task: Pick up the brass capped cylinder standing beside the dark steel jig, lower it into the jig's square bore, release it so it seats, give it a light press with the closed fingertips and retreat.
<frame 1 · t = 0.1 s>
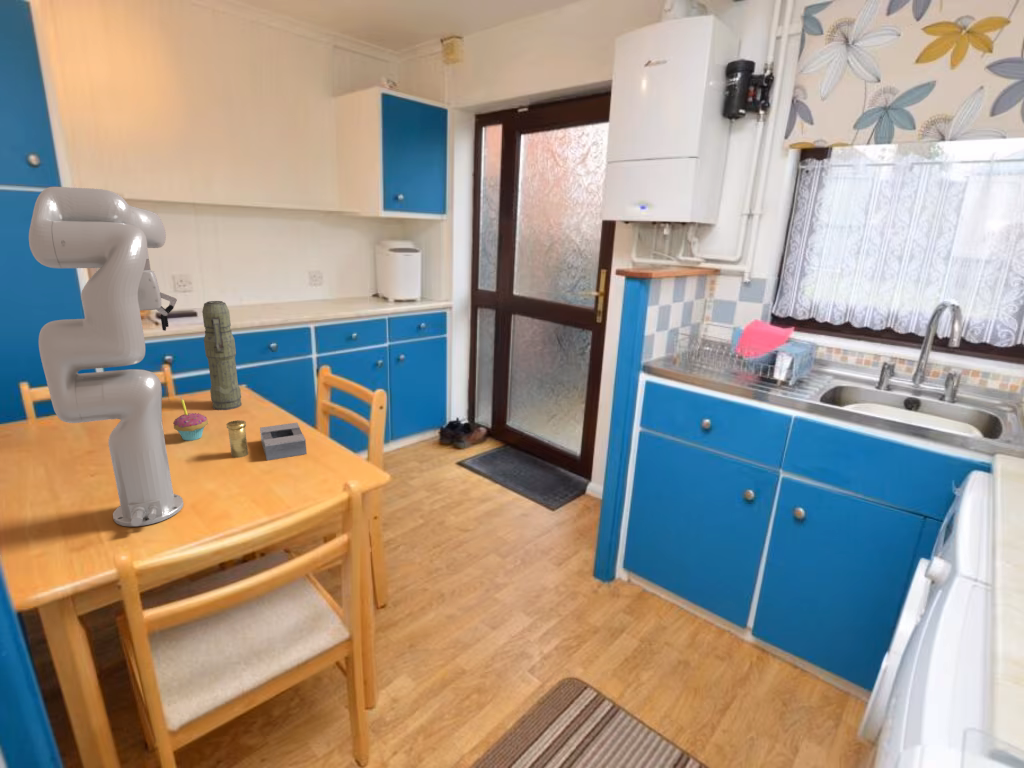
hand: (143, 330, 144), 31 cm above the table, fingers open, 9 cm apart
jig: (283, 447, 150), on the table
brass capped cylinder: (239, 454, 144), on the table
cupcake: (193, 438, 154), on the table
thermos: (227, 406, 180), on the table
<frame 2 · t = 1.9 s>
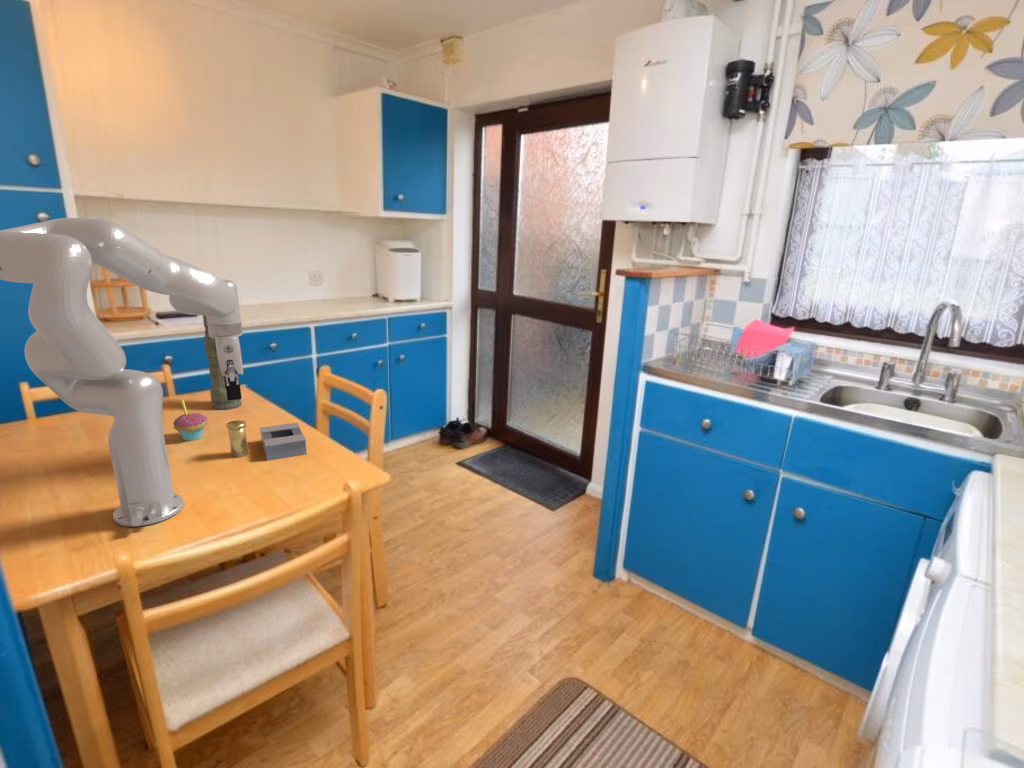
hand: (233, 393, 140), 17 cm above the table, fingers open, 9 cm apart
nothing on the table moved.
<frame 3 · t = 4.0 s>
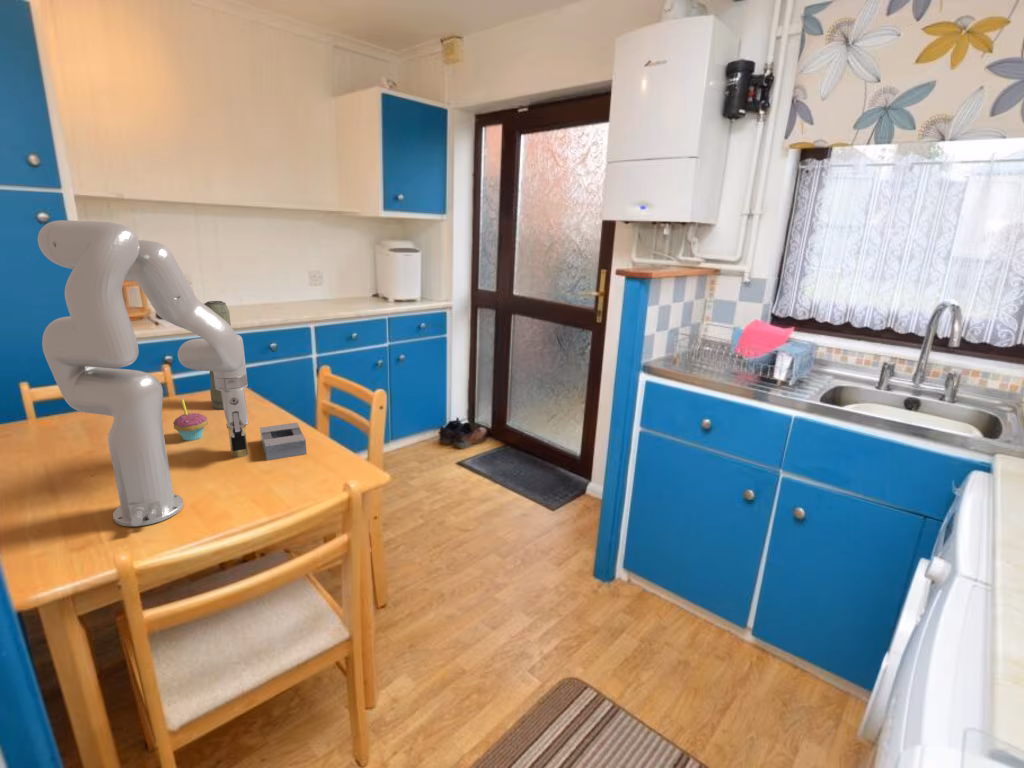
hand: (238, 445, 144), 3 cm above the table, fingers closed on brass capped cylinder, 4 cm apart
brass capped cylinder: (239, 454, 144), on the table, touching gripper
everything else where it was.
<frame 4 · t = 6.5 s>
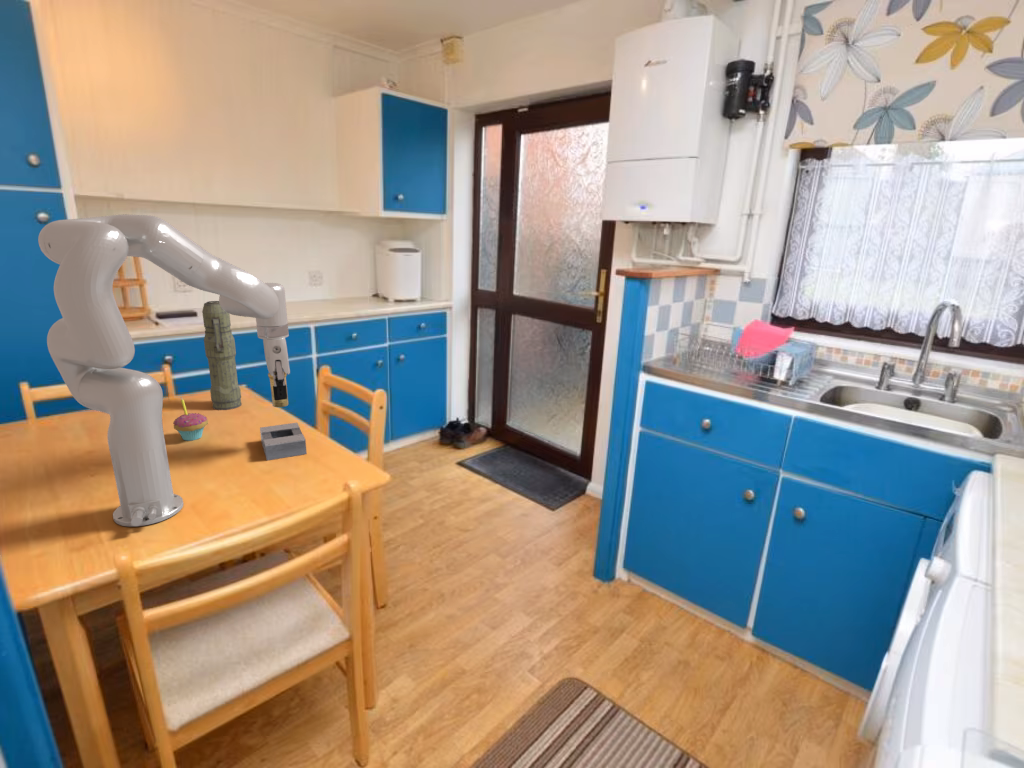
hand: (279, 396, 146), 15 cm above the table, fingers closed on brass capped cylinder, 4 cm apart
brass capped cylinder: (280, 404, 146), point 13 cm above the table, touching gripper
everything else where it was.
when the fingers open (5 cm above the table, at t = 8.6 s): brass capped cylinder drops 2 cm, resting in jig.
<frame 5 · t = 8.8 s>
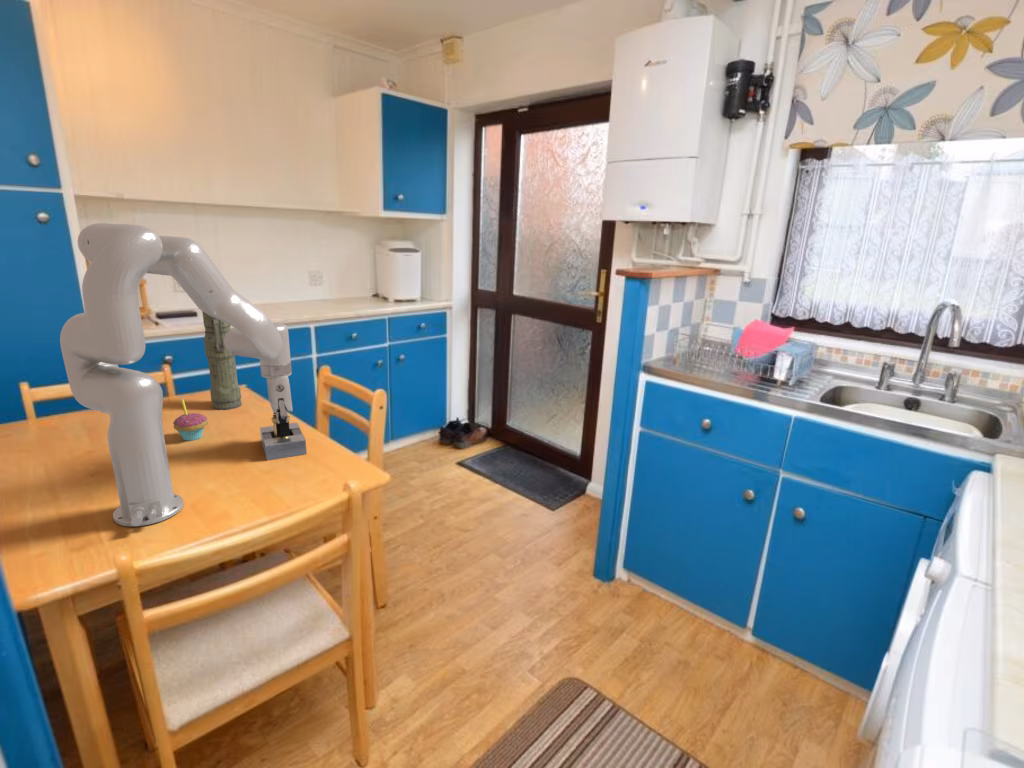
hand: (281, 431, 148), 5 cm above the table, fingers open, 6 cm apart
brass capped cylinder: (283, 447, 150), resting in jig
everything else where it was.
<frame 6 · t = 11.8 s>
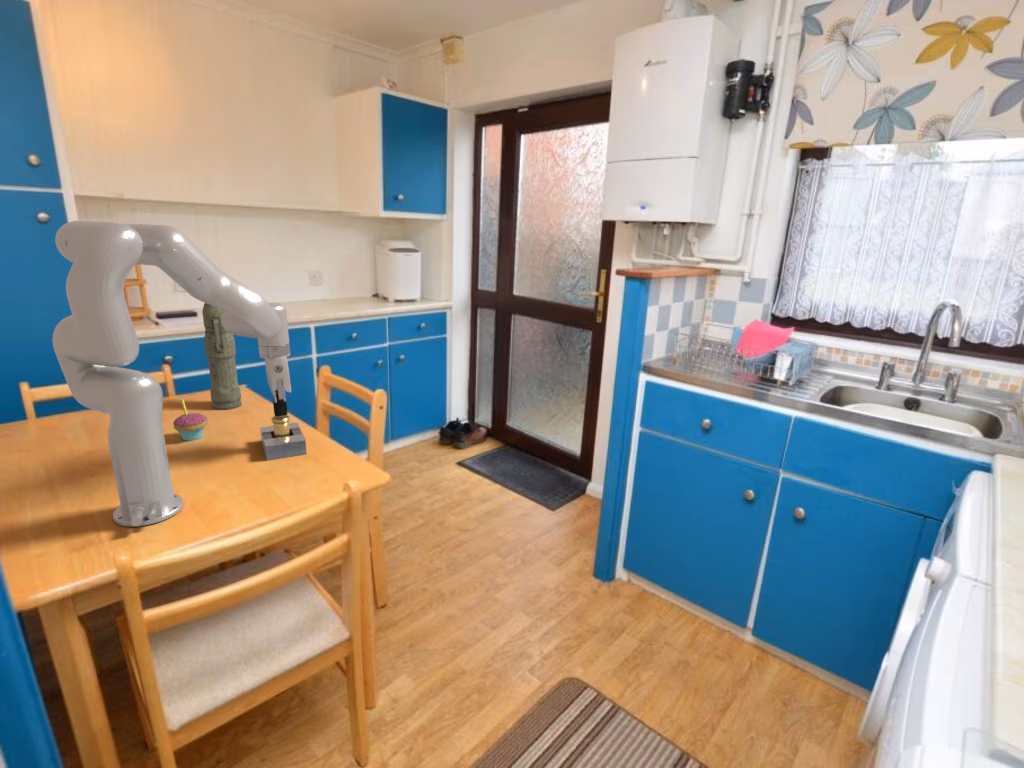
hand: (280, 414, 147), 10 cm above the table, fingers closed
nothing on the table moved.
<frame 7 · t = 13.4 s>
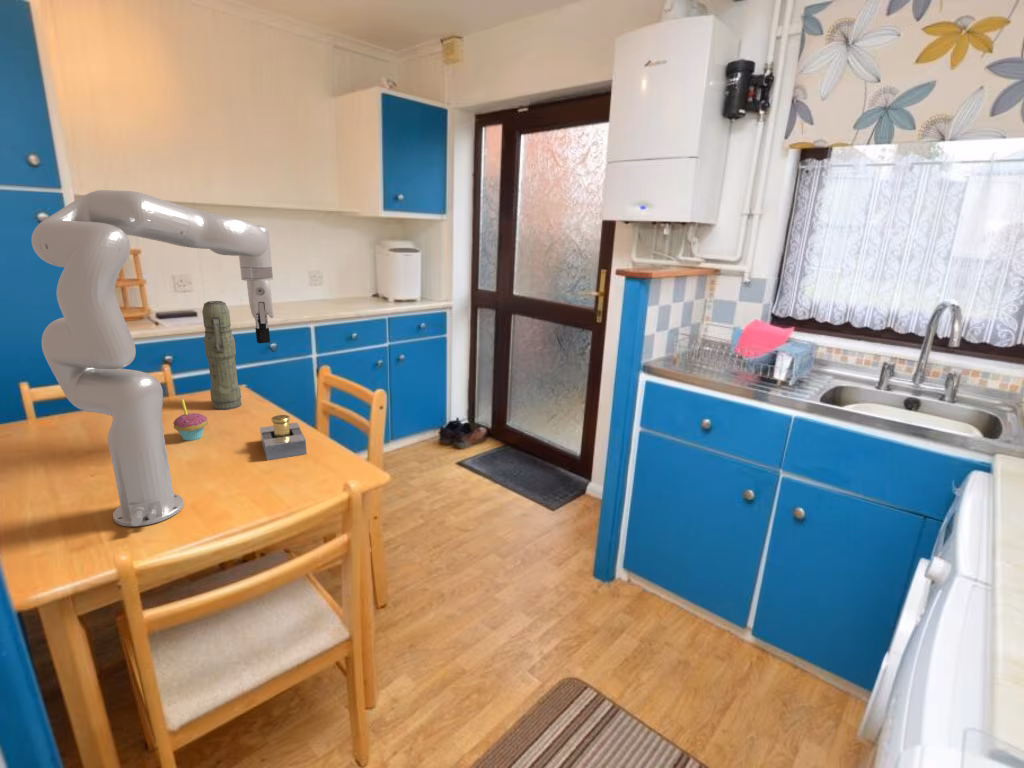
hand: (263, 342, 145), 29 cm above the table, fingers closed
nothing on the table moved.
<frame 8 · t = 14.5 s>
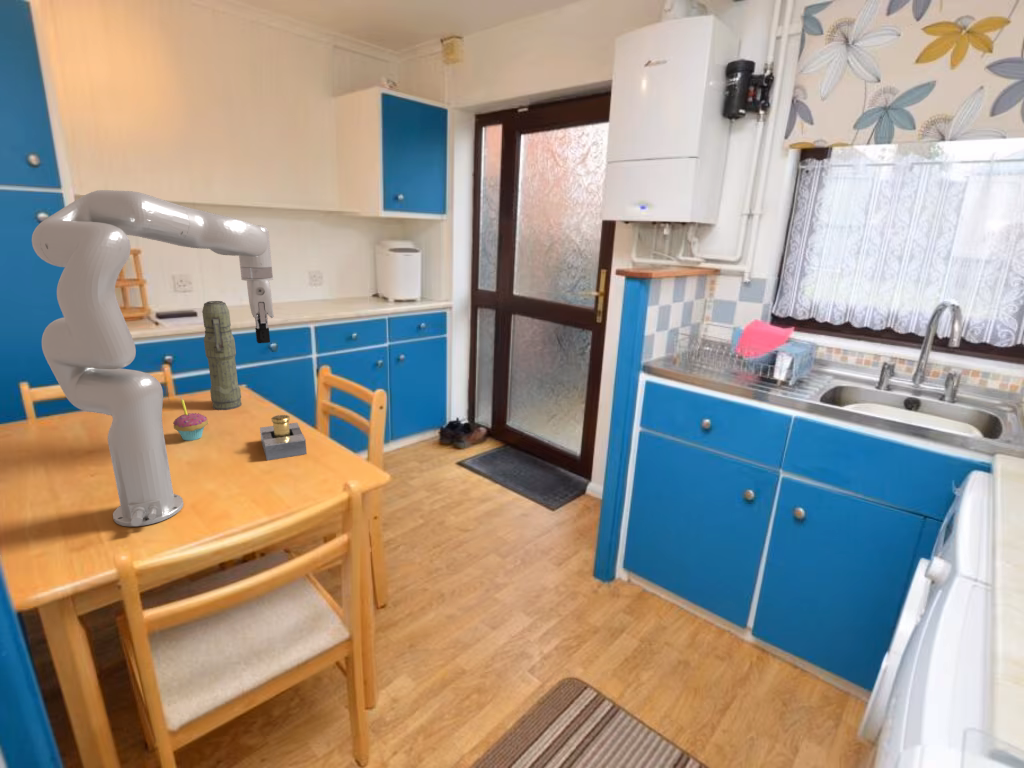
hand: (263, 342, 145), 29 cm above the table, fingers closed
nothing on the table moved.
at the end: brass capped cylinder 0.1 cm off-centre on the jig, point 0.0 cm above the jig's base; brass capped cylinder tilted 0°; the gripper is holding nothing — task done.
